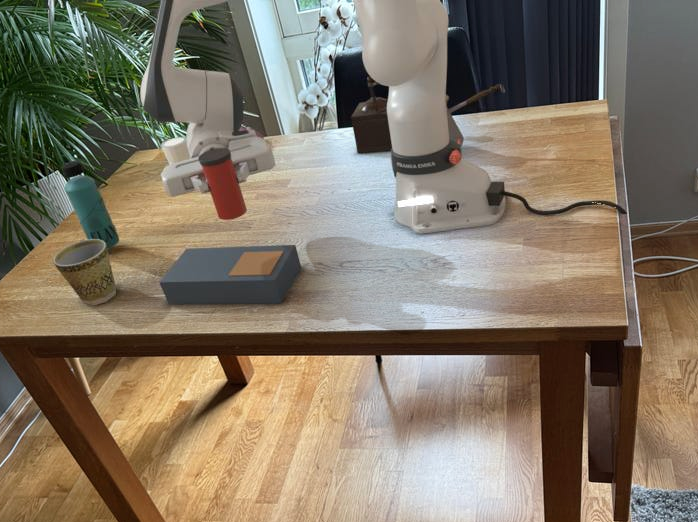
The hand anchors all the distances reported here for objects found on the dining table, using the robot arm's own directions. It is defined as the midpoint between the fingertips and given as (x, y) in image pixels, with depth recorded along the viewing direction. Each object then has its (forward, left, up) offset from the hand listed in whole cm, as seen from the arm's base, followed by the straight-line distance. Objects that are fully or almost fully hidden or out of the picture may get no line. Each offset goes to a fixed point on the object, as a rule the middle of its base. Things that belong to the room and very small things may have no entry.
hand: (223, 183), depth 120 cm
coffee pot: (-33, -54, -20) cm, 66 cm away
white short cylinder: (+42, -57, -20) cm, 74 cm away
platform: (+3, +2, -20) cm, 20 cm away
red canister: (0, -1, -6) cm, 6 cm away
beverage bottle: (+40, -14, -20) cm, 47 cm away
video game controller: (+28, -69, -20) cm, 77 cm away
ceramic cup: (+32, +3, -20) cm, 38 cm away
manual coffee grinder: (-12, -65, -20) cm, 69 cm away
